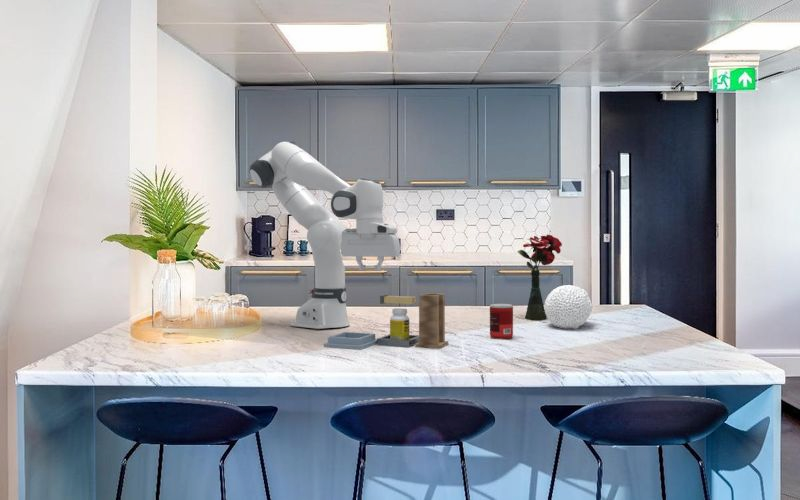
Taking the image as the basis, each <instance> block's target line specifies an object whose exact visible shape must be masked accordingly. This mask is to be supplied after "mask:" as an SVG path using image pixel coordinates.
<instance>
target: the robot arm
mask: <svg viewBox="0 0 800 500" xmlns="http://www.w3.org/2000/svg"><path fill="white" fill-rule="evenodd" d="M249 176H250V177H251V179H252V181H253V182H254V183H255V184H256V185H257V186H258V187H259V188H262V189H264V188H265V189H266V188H268V187H269V188H270V187H271V186H272V191H273V194H274V195H275V196H276V198H277V200H278V201H279V202H280V204H281V205H282V206H283V208H284V209H286V211H287V212H288V213H289V215H290V216H292V218H293V219H294V220H295V221H296V222H297V223H298V224H299V225H300V226H302V227H303V228H304V229H306V230H307V233H306V239H307V242H308V244H309V246H310V249H311V253H312V258H313V263H314V264H313V265H314V274H315V275H314V276H315V278H314V281H315V283H314V285H315V287H314V288H313V289H311V290H309V293H308V294H309V295H310V294H311V296H310V298H309V300H307V301H305V303H303V304H302V305H301V306H300V307H298V308H297V311H296V314H295V315H296V316H295V320H294V321H290V323H289V326H291V327H300V328H308V329H309V328H310V329H316V330H321V329H330V328H344V327H348V326H350V321H349V317H348V312H347V303H346V302H347V288H346V266H345V264H344V262H343V258H342V257H355V260H356V262H357V265H358V270H359V271H365V272H366V264H364V263H363V257H366V258H367V257H377V261H378V262H377V264H376V265H374V271H375V272H380V271H382V264H384V263H383V262H384V261H385V258H386V257H387V258H390V257H391V258H395V257H396V258H397V257H399V255H400V253H401V245H400V237H399V236H398V228H397V227H396V226H395V225H391V224H387V223H384V216H383V208H384V192H383V186H382V184H381V182H380V181H378V180H376V179H369V178H364V177H363V178H359V179H357V180H356V181H355V182H354V183H353V184H350V183H349V182H347V181H346V180H344V179H343V178H341V177H340V176H338V175H337V174H336V173H334V172H332V171H331V170H330V169H328V168H327V167H326V166H324V164H322V163H321V162H319V161H318V160H317V159H316V158H315V157H314V156H312V155H311V154H310V153H308V152H307V151H306V150H304V149H303V148H302V146H300V144H298V143H297V142H295V141H281V142H278V143H277V144H276V145H275V146H274V147H273V149H271V150H270V151H268V152H267V153H266V154H264V155H262V156H261V157H260V158H259V159H256V160H255V161H253V162H252V163H251V164H250V166H249ZM308 188H311V189H316V190H319V191H325V192H326V193H327V192H328V193H329V194H332V196H331V200H330V208H331V211H332V212H330V211H329V210H328V209H327V208H326V207H325V206H323V204H321V203H320V202H319V201H318V200H317V198H316V197H315V196H314V195H313V194H312V193H311V192H310V190H309V189H308ZM339 218H340V219H344V220H345V219H346V220H355V226H356V227H355V228H348V227H347V225H345V223H343V222H342V221H340V219H339Z"/></svg>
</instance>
